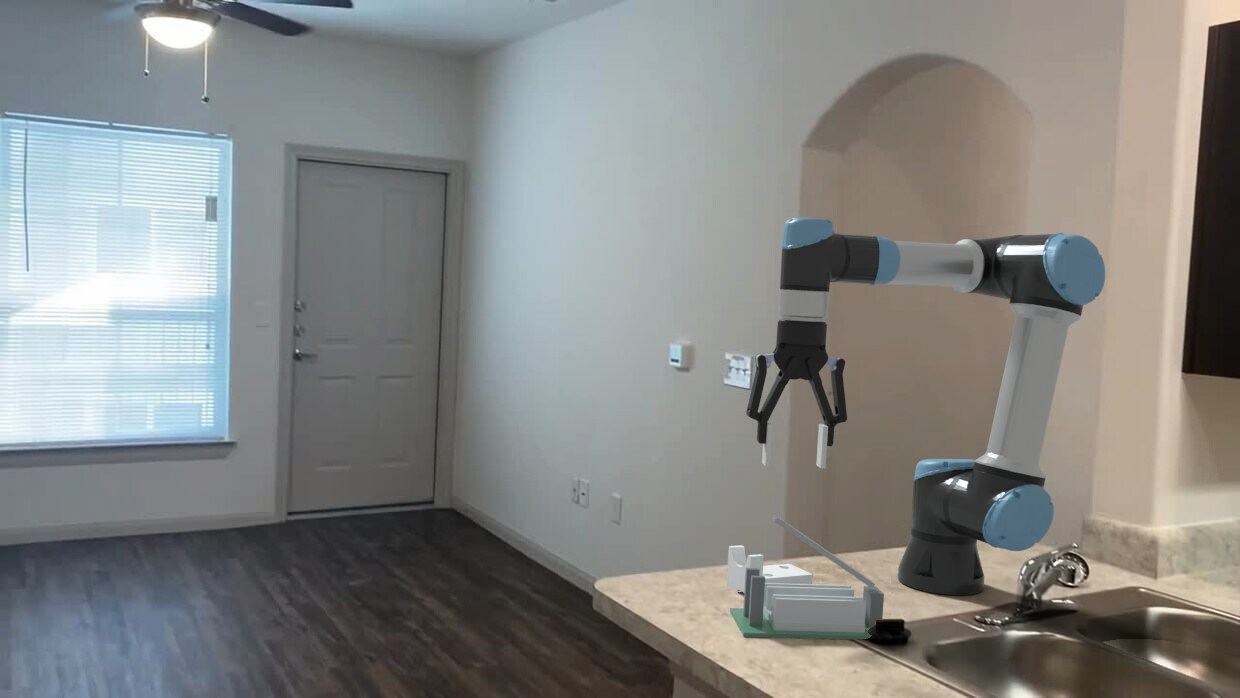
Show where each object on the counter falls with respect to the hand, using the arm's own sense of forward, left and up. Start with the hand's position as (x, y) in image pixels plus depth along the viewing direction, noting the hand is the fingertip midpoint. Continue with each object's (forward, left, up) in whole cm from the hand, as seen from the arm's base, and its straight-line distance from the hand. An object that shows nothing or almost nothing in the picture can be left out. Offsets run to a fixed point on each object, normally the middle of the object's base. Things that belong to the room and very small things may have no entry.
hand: (793, 465), depth 166 cm
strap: (-5, 0, -14) cm, 15 cm away
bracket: (-2, -19, -26) cm, 32 cm away
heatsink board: (-4, 0, -25) cm, 26 cm away
